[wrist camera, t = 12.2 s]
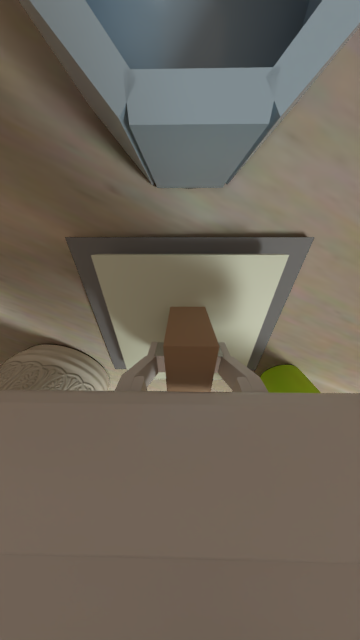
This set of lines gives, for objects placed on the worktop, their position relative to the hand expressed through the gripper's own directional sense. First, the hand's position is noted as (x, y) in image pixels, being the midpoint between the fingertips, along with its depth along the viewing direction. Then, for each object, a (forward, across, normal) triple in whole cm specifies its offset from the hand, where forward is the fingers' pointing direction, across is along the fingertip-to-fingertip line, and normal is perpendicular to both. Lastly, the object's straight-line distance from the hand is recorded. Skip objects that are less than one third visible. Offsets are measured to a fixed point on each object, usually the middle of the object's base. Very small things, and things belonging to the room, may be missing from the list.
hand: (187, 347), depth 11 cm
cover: (+3, 0, 0) cm, 3 cm away
